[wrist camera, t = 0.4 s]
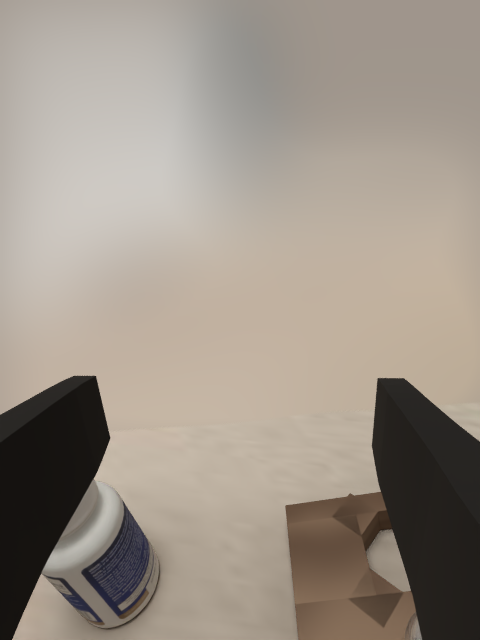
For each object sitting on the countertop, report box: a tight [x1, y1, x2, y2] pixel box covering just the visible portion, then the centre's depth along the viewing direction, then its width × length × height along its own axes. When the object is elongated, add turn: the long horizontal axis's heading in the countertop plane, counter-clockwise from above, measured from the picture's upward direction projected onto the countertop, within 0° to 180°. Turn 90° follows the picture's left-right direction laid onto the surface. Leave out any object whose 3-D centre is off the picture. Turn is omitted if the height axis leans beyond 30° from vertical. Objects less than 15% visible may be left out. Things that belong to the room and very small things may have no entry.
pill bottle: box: [41, 479, 159, 628], centre depth 25 cm, size 5×5×10 cm
